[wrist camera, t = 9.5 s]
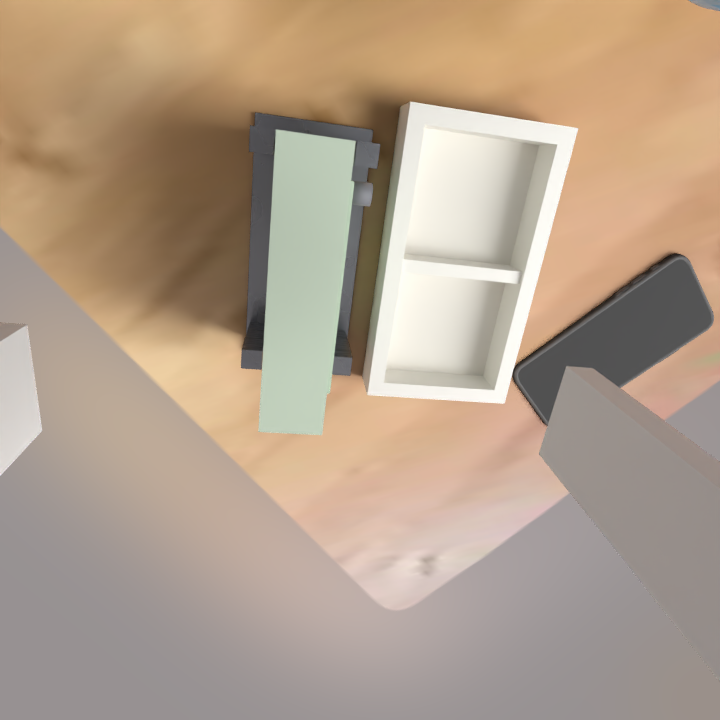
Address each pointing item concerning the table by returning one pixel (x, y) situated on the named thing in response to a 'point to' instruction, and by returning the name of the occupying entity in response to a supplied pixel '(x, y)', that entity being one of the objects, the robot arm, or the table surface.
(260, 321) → the grey four-post stand
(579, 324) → the smartphone
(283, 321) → the door panel
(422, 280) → the white divided tray
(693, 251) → the table surface
